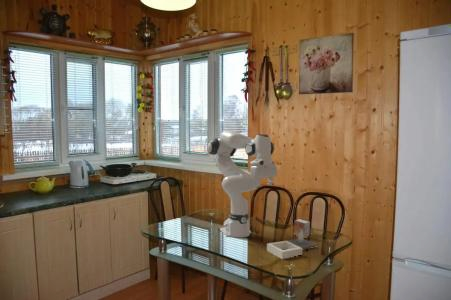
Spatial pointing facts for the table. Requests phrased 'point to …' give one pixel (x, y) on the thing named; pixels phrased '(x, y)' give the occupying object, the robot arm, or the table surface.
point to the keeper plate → (305, 244)
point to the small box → (302, 227)
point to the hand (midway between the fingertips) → (264, 185)
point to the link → (283, 254)
